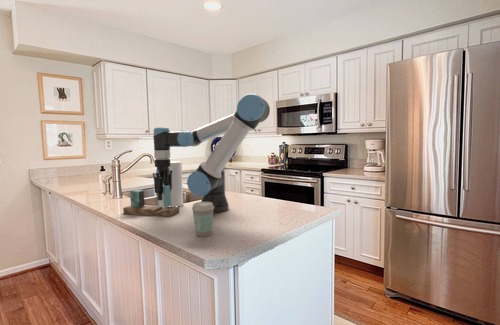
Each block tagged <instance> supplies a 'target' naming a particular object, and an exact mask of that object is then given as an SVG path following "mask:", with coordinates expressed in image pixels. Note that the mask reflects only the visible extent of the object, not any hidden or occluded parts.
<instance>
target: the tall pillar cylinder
mask: <svg viewBox="0 0 500 325" xmlns="http://www.w3.org/2000/svg"><path fill="white" fill-rule="evenodd" d="M182 163H183V162H182V161H174V160H173V161H170V164H171V165H170V167H168V168H169V170H172V189H170V190H171V191H170V196H171V205H170V207H176V206H180V207H182V206H181V205H183V206H184V191H183V188H184V186H183V164H182ZM163 185H164V183H163ZM167 207H169V206H167ZM167 207H166V208H167Z"/></svg>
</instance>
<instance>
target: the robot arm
mask: <svg viewBox="0 0 500 325" xmlns="http://www.w3.org/2000/svg"><path fill="white" fill-rule="evenodd" d="M270 110H271V109H270V105H269V103H268V101H266V100H265V99H264V98H263V97H261V96H260V95H259V94H255V93H248V94H245V95H243V96H242V97H240V99H239V100H238V102H237V105H236V110H235V112H234V113H233V114H230V115H228V116H225V117H223V118H220V119H217V120H216V121H212V122H211V123H209V124H206V125H204V126H202V127H201V126H200V127H198V128H197V129H194V130H192V131H190V130H179V131H178V130H177V131H175V130H174V131H171V130H170V128H169V127H155V128H154V129H153V151H154V153H153V154H154V157H153V158H154V167H155V168H156V172H153V173H152V176H153V184H154V193H155V194H157V193H158V202H159V206H161V207H163V208H165V207H164V193H163V183H164V185H167V186H170V189H172V170H169V168H168V167H170V165H171V164H170V162H171V148H172V147H175V148H177V147H178V148H179V147H180V148H187V147H197V146H200V145H201V144H202V143H204V142H207V141H210V140H212V139H215V138H217V137H220V136H222V135H223V136H222V137H221V139H220V140H219V141H218V143H217V144H216V146H215V148H214V149H213V151H212V152H211V154H210V155H209V156H208V158H207V159H206V161H204V162H200V164H199V166H198V167H197V169H196V170H195V171H192V172H191V173H190V174H189V175H188V177H187V181H186V185H187V188H188V190H189V192H190V193H191V195H194V196H197V197H202V198H201V201H200V202H212V203H213V206H214V209H213V214H214V213H215V214H216V213H221V212H227V211H228V210H229V208H230V206H229V202H228V199H227V197H226V196H227V195H226V187H225V186H226V182H225V181H226V179H225V174H226V172H225V167H226V166H227V163H228V162H229V161H230V159H231V158H232V157H233V155H234V154H235V152H236V150H237V149H238V148H239V146H241V144H242V143H243V141H244V139H245V138H246V137H247V135H248V134H249V132H251V131H254V130H255V129H256V128H257V127H258V126H259V124H260V123H263V122H264V121H266V120H267V119H268V117H269V115H270V113H271V112H270ZM170 191H171V190H170Z"/></svg>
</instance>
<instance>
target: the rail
mask: <svg viewBox="0 0 500 325" xmlns="http://www.w3.org/2000/svg"><path fill="white" fill-rule="evenodd" d="M129 196H130V205H128V206H125V207H123V208H122V209H123V210H122V211H123V212H122V213H123V214H124V215H138V214H140V215H139V216H142V215H143V216H155V215H163V216H162V217H171V216H172V217H174V216H175V214H176V215H178V214H179V213H180V207H173V208H169V209H168V208H167V209H166V208H164V207H159V206H158V205H145V192H144V189H134V190H133V189H132V190H130V191H129ZM177 213H178V214H177ZM173 215H174V216H173Z"/></svg>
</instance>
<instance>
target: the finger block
mask: <svg viewBox="0 0 500 325" xmlns="http://www.w3.org/2000/svg"><path fill="white" fill-rule="evenodd" d="M163 193H164V207H163V208H167V206H170V205H171V196H170V186H167V185H163ZM156 203H157V206H159V202H158V193H156ZM159 207H161V206H159Z"/></svg>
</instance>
